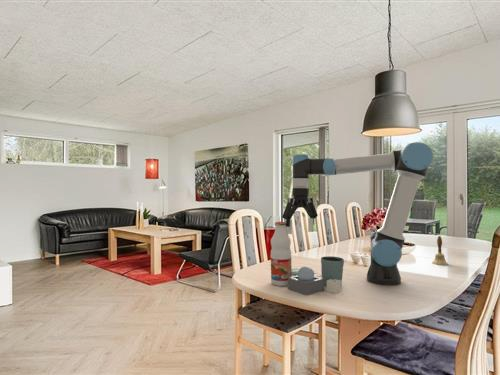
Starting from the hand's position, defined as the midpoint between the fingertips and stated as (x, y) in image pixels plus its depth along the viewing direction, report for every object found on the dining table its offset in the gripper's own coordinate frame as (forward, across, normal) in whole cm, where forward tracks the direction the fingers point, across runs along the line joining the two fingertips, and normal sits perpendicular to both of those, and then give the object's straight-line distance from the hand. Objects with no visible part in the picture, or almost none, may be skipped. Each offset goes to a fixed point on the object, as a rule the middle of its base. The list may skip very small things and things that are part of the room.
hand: (300, 232), depth 162 cm
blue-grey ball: (+20, +7, +11) cm, 24 cm away
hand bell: (+23, -93, +18) cm, 98 cm away
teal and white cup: (+23, -8, +13) cm, 27 cm away
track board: (+23, -7, -5) cm, 24 cm away
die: (+23, -1, +20) cm, 30 cm away
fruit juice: (+23, +10, -2) cm, 25 cm away
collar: (+23, +7, +11) cm, 26 cm away
